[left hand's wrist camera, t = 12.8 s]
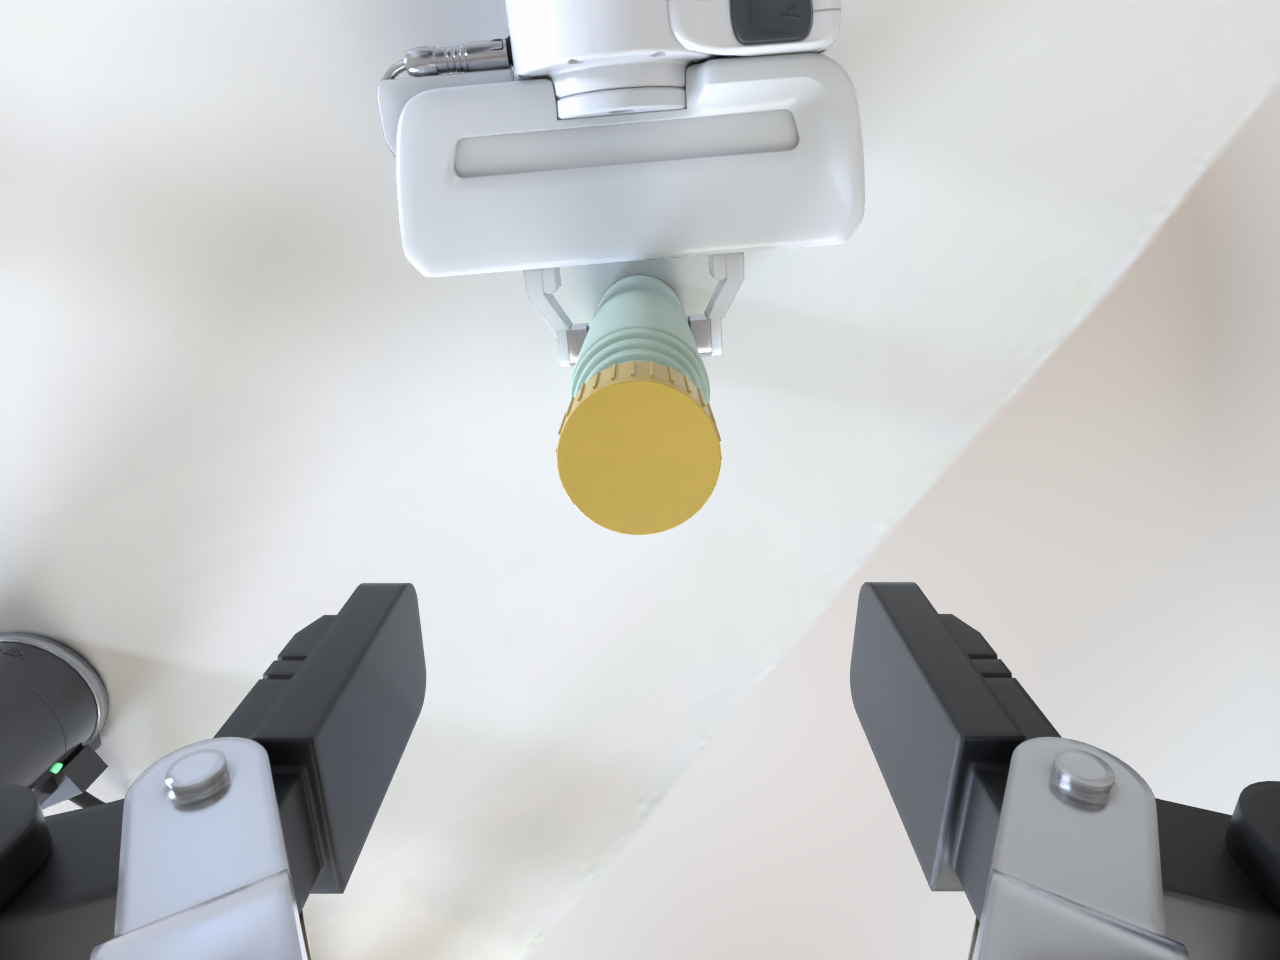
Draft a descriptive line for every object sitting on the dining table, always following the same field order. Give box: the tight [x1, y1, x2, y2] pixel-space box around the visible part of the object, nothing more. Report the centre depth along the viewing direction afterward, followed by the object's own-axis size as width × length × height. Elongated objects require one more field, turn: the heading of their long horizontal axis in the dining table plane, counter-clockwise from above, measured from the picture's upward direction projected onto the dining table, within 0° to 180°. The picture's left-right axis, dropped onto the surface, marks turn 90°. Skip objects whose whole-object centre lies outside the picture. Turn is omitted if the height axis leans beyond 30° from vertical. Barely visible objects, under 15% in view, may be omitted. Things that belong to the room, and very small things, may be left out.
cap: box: [556, 360, 722, 535], centre depth 20 cm, size 4×4×2 cm
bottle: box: [569, 275, 710, 403], centre depth 30 cm, size 5×5×23 cm
